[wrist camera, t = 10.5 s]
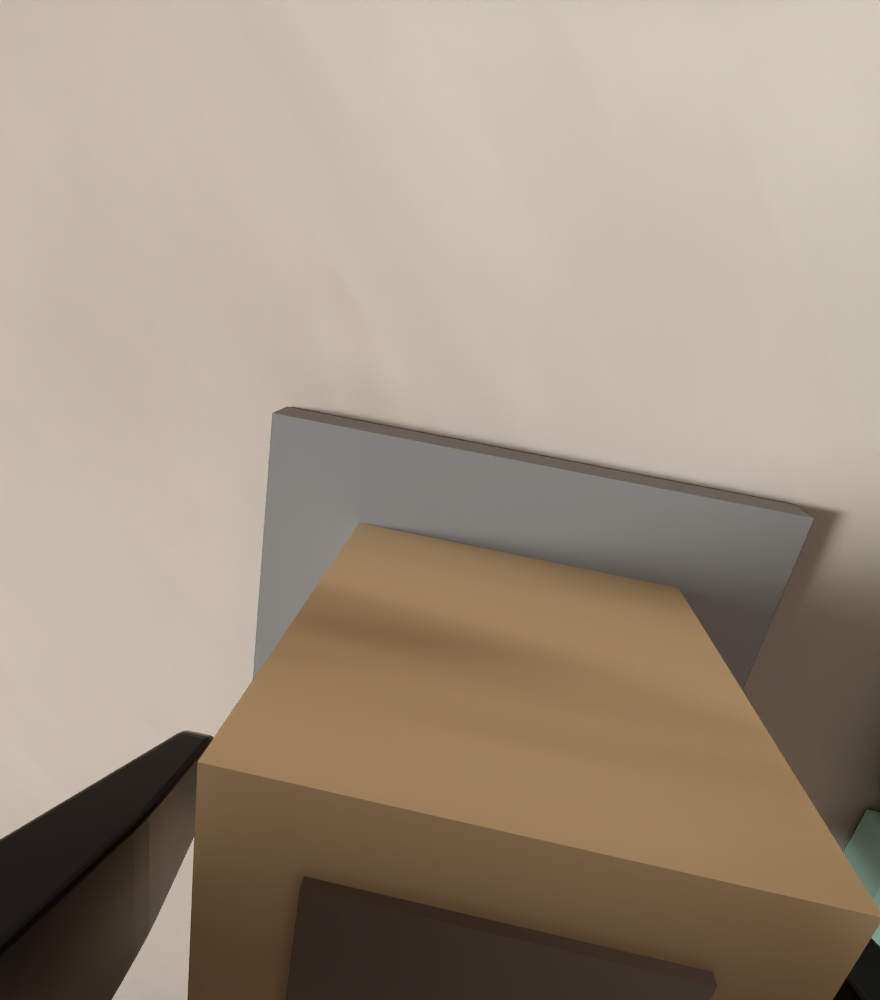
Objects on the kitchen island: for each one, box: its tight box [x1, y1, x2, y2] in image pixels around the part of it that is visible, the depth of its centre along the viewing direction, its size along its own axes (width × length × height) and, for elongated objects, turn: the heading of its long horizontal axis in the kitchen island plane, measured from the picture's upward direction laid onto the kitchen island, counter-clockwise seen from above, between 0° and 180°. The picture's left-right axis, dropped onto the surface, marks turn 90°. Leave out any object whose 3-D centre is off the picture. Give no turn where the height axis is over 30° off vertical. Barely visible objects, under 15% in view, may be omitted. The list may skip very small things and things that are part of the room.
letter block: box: [188, 523, 880, 1000], centre depth 7 cm, size 5×5×5 cm
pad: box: [253, 407, 814, 689], centre depth 10 cm, size 8×8×1 cm
